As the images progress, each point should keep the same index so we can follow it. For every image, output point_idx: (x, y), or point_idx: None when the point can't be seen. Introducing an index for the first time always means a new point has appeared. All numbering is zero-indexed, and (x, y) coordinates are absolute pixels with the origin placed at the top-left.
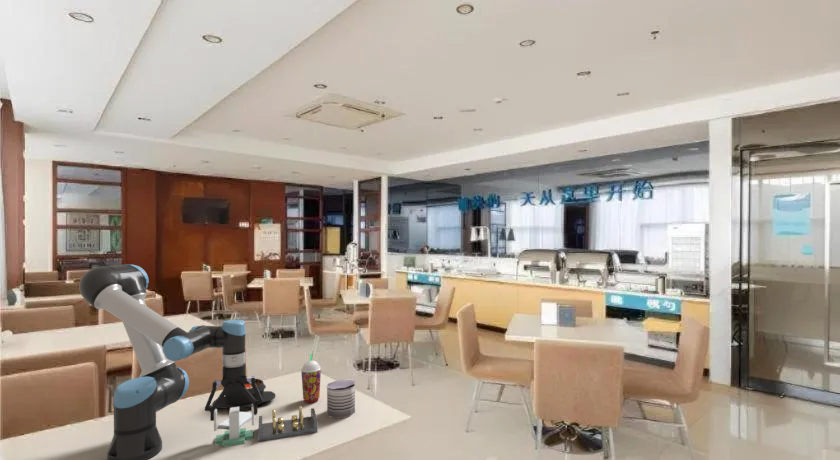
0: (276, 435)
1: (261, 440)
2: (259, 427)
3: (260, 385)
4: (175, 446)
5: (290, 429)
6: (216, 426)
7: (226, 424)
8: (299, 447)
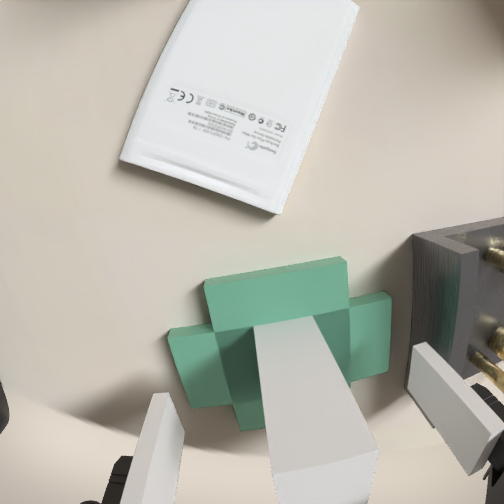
0: (474, 370)
1: None
2: None
3: None
4: (20, 359)
5: None
6: (179, 445)
7: (180, 158)
8: None
